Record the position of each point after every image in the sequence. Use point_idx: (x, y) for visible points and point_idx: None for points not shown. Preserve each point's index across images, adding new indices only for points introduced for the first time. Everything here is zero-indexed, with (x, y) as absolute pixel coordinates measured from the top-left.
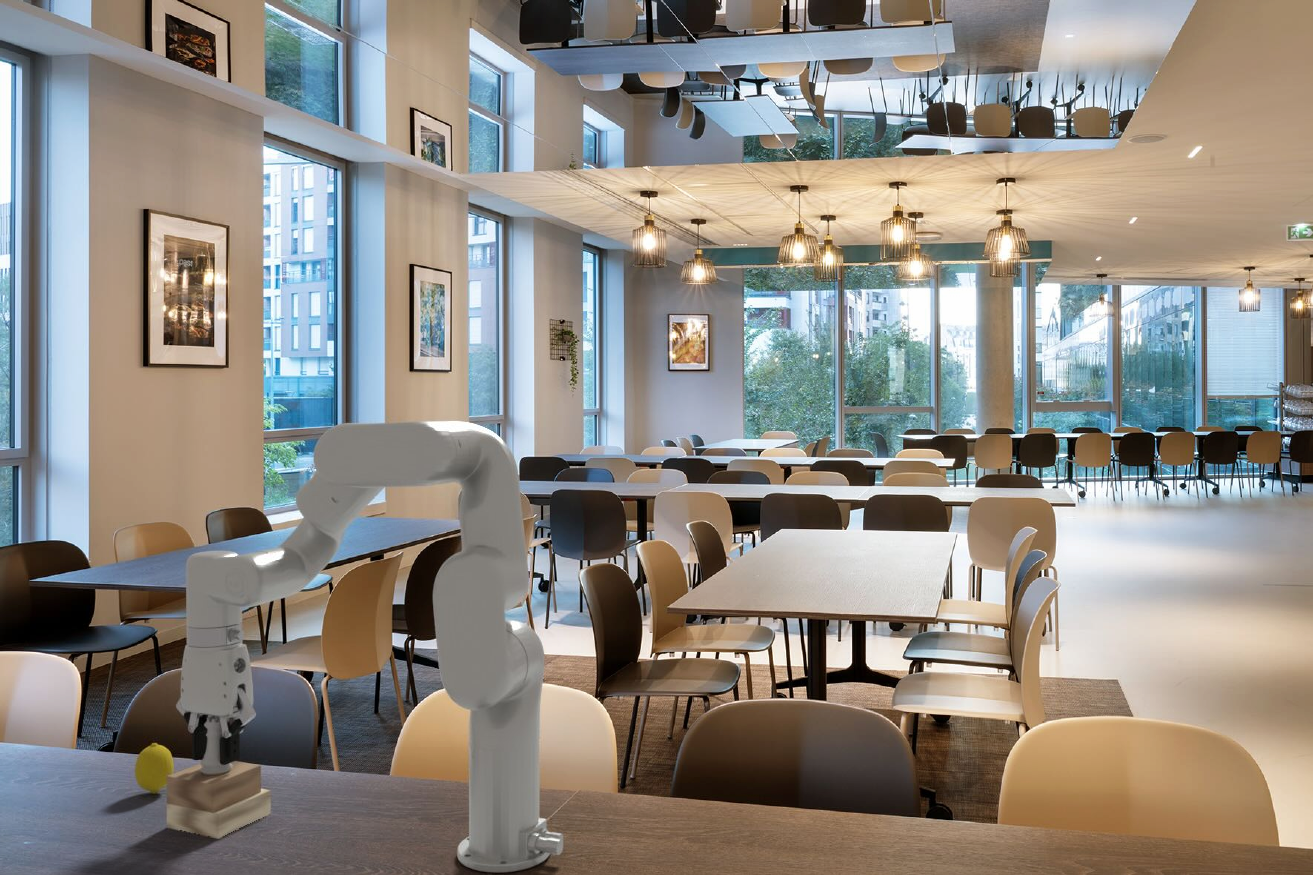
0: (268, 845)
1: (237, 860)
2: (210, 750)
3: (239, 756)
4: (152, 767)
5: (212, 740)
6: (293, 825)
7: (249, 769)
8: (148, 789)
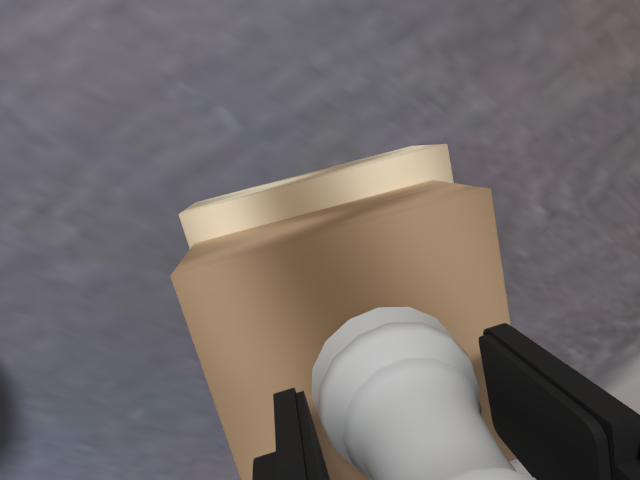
0: (592, 279)
1: (597, 371)
2: None
3: (506, 324)
4: None
5: None
6: (543, 156)
7: (495, 259)
8: None
